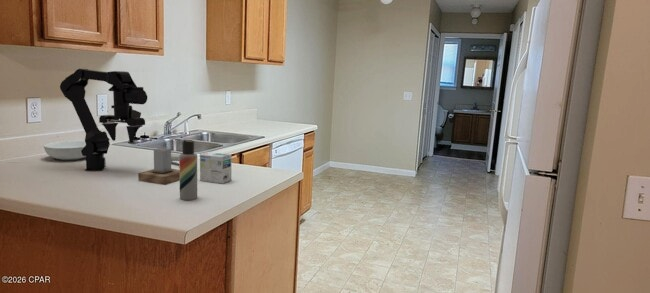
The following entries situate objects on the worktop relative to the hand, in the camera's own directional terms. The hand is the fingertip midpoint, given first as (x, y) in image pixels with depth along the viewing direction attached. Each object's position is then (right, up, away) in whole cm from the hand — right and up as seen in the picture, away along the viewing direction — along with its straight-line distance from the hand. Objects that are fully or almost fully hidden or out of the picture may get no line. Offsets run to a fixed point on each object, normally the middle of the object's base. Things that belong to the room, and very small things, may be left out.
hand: (122, 141), depth 178 cm
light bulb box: (+39, -16, -4) cm, 42 cm away
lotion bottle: (+36, -20, -29) cm, 50 cm away
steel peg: (+18, -15, -6) cm, 24 cm away
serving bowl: (-36, -8, +26) cm, 45 cm away
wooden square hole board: (+18, -15, -6) cm, 24 cm away
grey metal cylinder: (+12, -10, +24) cm, 29 cm away
